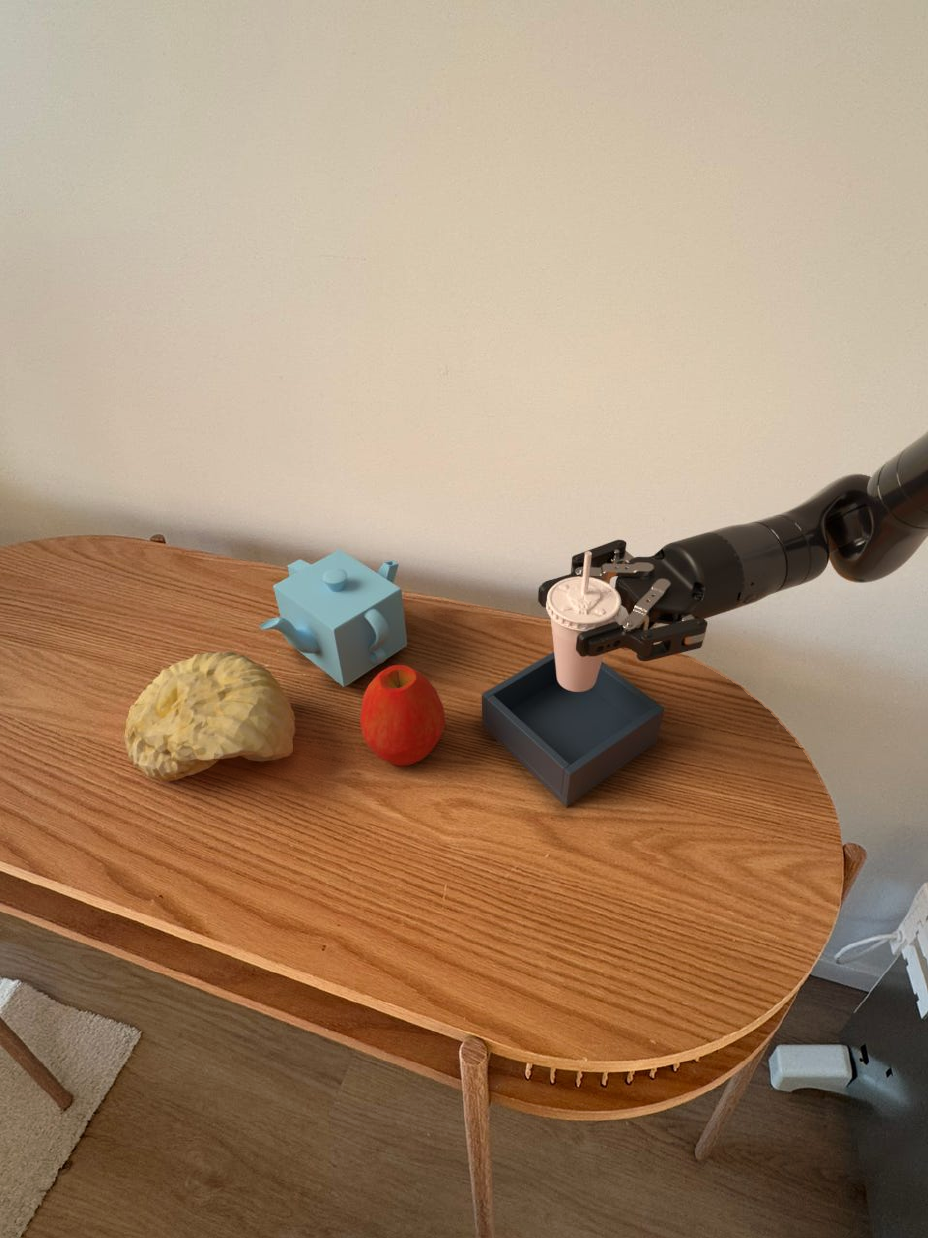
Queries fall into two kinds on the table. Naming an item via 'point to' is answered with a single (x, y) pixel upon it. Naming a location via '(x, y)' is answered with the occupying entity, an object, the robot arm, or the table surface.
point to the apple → (401, 716)
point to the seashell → (208, 717)
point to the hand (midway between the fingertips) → (559, 620)
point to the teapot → (341, 614)
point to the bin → (570, 726)
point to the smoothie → (579, 624)
